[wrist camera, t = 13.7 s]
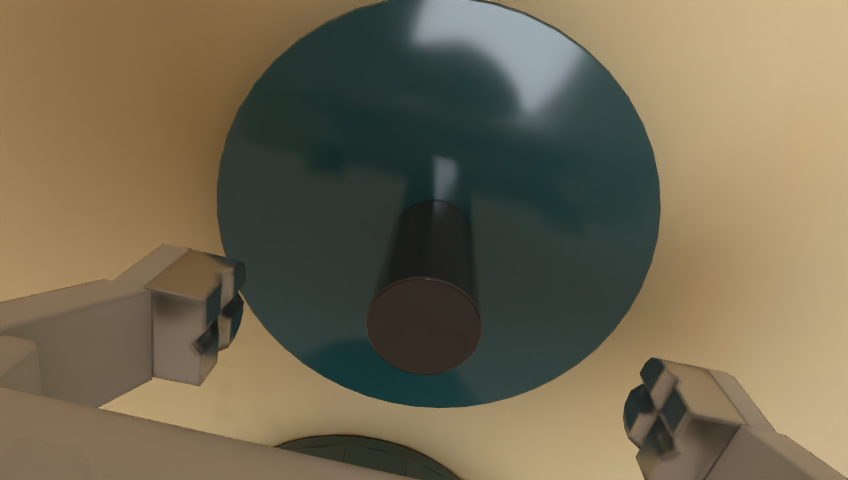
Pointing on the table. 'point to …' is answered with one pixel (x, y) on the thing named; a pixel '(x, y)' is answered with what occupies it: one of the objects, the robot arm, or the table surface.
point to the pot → (371, 456)
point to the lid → (439, 201)
